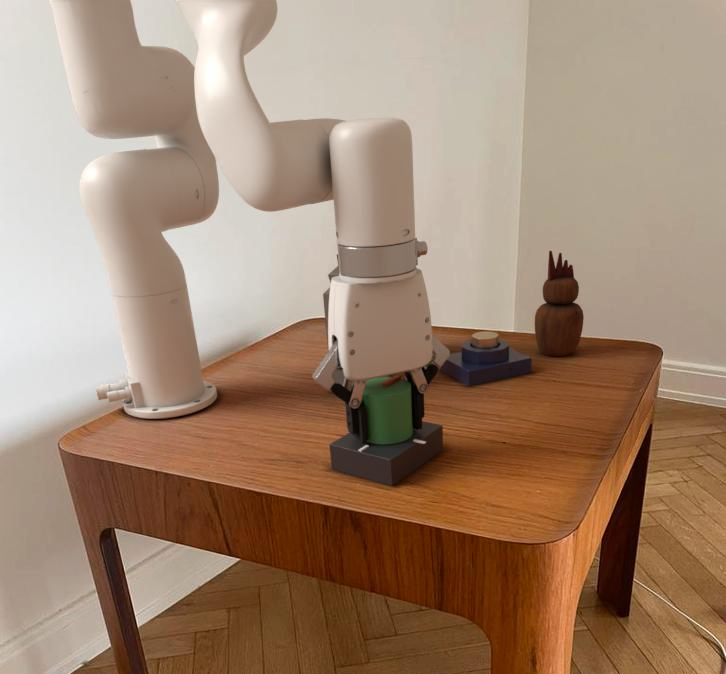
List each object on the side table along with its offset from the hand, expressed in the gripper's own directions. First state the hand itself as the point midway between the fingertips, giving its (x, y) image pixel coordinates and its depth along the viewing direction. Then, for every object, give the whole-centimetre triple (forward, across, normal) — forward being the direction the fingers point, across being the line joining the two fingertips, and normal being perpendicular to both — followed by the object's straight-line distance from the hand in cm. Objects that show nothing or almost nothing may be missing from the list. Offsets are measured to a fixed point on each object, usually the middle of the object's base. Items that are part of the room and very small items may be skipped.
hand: (386, 430), depth 80 cm
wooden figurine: (+4, -37, -20) cm, 42 cm away
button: (0, -24, -19) cm, 31 cm away
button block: (+4, -24, -19) cm, 31 cm away
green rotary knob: (0, 0, 0) cm, 0 cm away
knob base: (+4, 0, 0) cm, 4 cm away
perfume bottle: (+4, -7, -24) cm, 25 cm away
